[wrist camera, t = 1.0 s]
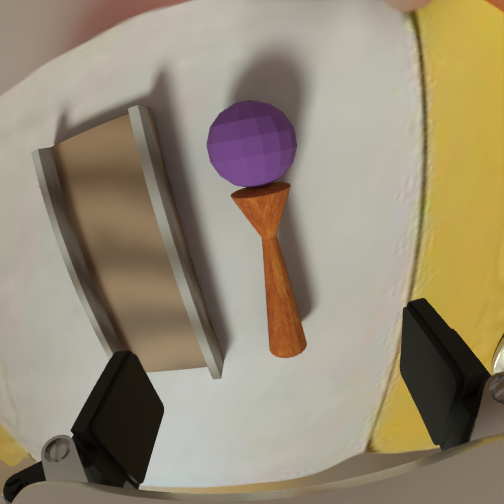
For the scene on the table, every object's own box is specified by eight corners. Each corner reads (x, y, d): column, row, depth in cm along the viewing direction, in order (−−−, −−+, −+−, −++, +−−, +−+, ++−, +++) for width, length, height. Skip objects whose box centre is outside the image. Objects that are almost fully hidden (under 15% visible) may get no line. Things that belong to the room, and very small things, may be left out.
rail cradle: (224, 359, 30) (221, 378, 28) (132, 368, 31) (123, 385, 29) (150, 107, 22) (137, 104, 20) (49, 149, 23) (31, 152, 21)
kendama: (248, 369, 25) (185, 111, 18) (260, 326, 30) (214, 111, 23) (321, 366, 24) (283, 90, 16) (321, 322, 29) (290, 97, 22)
